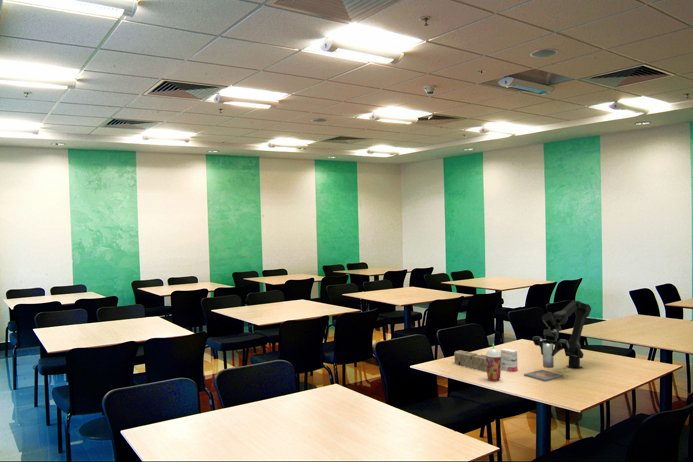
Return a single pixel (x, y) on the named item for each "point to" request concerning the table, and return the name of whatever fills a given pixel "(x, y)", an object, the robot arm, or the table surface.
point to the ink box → (509, 360)
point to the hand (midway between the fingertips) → (547, 355)
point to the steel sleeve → (548, 355)
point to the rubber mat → (543, 375)
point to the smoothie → (493, 364)
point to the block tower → (470, 360)
